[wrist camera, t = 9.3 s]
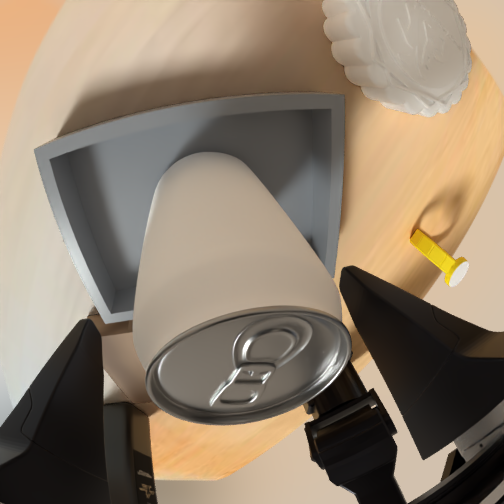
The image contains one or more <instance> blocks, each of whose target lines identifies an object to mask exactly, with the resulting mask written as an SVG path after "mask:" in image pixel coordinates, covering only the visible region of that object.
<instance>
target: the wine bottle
mask: <svg viewBox="0 0 504 504" xmlns="http://www.w3.org/2000/svg"><path fill="white" fill-rule="evenodd" d="M103 413H104V441H105V456H106V467H107V476H108V483H109V491H110V498H111V504H158V502H157V496H156V488H155V480H154V472H153V463H152V452H151V440H150V425H149V418H148V416H146V415H145V414H144V413H142V412H141V411H140V410H138V409H137V408H136V407H134V406H133V405H131V404H129V403H117V404H111V405H104V406H103Z"/></svg>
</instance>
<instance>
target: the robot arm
mask: <svg viewBox="0 0 504 504" xmlns="http://www.w3.org/2000/svg"><path fill="white" fill-rule="evenodd" d="M339 288H340V292H341V294H342V296H343V299H344V301H345V303H346V306H347V308H348V310H349V313H350V315H351V317H352V320H353V322H354V324H355V326H356V328H357V330H358V332H359V334H360V335H361V337H362V339H363V341H364V343H365V345H366V346H367V348H368V350H369V352H370V354H371V356H372V358H373V359H374V361H375V363H376V365H377V367H378V369H379V371H380V373H381V375H382V376H383V378H384V380H385V382H386V384H387V386H388V388H389V390H390V392H391V394H392V396H393V398H394V400H395V402H396V404H397V406H398V408H399V410H400V412H401V414H402V415H403V419H404V421H405V423H406V425H407V427H408V429H409V431H410V434H411V436H412V438H413V440H414V442H415V444H416V447H417V449H418V451H419V453H420V455H421V458H422V459H423V460H425V459H427V458H428V457H430V456H431V455H433V454H435V453H436V452H438V451H439V450H440V449H442V448H444V447H445V446H447V445H448V444H449V443H451V442H452V441H454V443H455V445H456V447H457V448H456V449H455V450H454V451H452V452H451V453H449V454H448V457H447V461H446V465H445V468H444V471H443V475H442V478H441V482H440V483H439V484H438V485H436V486H435V487H433V488H432V489H430V490H429V491H427V492H426V493H424V494H423V495H421V496H420V497H418V498H416V499H414V500H413V501H411V502H410V503H408V504H504V332H493V331H488V330H486V329H484V328H481V327H479V326H476V325H474V324H472V323H470V322H467V321H465V320H463V319H461V318H458V317H456V316H454V315H452V314H449V313H448V312H446V311H443V310H441V309H439V308H437V307H436V306H434V305H431V304H430V303H428V302H426V301H424V300H422V299H420V298H418V297H416V296H414V295H412V294H410V293H408V292H406V291H404V290H402V289H400V288H398V287H396V286H394V285H392V284H390V283H388V282H386V281H384V280H382V279H380V278H378V277H376V276H374V275H372V274H370V273H368V272H366V271H364V270H362V269H360V268H358V267H356V266H353V265H352V266H347V267H344V268H343V269H342V271H341V277H340V284H339ZM352 354H353V352H352V351H351V354H350V357H349V360H348V362H347V364H346V366H345V368H344V369H343V371H342V372H341V374H340V375H339V376H338V377H337V378H336V380H335V381H334V382H333V383H332V384H331V385H330V386H328V387H327V388H326V389H325V390H324V391H323V392H321V393H320V394H319V395H317V396H316V397H314V398H313V399H311V400H310V401H308V402H306V403H304V404H303V406H304V408H305V411H306V413H307V414H308V415H309V414H312V416H313V418H314V420H313V421H311V422H307V423H305V429H304V430H305V432H306V436H307V439H308V443H309V449H310V457H311V460H312V461H314V462H316V463H317V464H318V465H319V467H320V468H321V469H323V470H324V469H325V470H326V472H327V474H328V477H329V480H330V481H331V482H332V483H334V484H335V485H336V486H341V487H342V488H344V489H346V490H347V491H349V492H351V493H353V494H354V495H355V496H356V498H357V501H358V503H359V504H407V502H406V500H405V498H404V496H403V494H402V491H401V489H400V487H399V485H398V483H397V481H396V479H395V477H394V470H395V463H396V456H397V445H396V443H395V441H394V439H393V437H392V436H393V435H395V434H396V433H397V430H396V428H395V425H394V423H393V422H392V420H391V418H390V416H389V414H388V413H387V411H386V409H385V407H384V405H383V404H382V402H381V400H380V399H379V397H378V395H377V393H376V392H375V390H374V388H372V389H370V390H369V392H367V390H366V388H365V386H364V385H363V383H362V381H361V379H360V377H359V375H358V374H357V372H356V370H355V368H354V366H353V365H352V363H351V361H350V360H351V357H352ZM103 392H104V371H103V354H102V337H101V334H100V332H99V331H98V329H97V327H96V326H95V324H94V322H93V321H92V320H91V319H89V318H87V319H81V320H80V321H79V322H78V323H77V324H76V325H75V327H74V328H73V329H72V330H71V332H70V333H69V334H68V335H67V337H66V338H65V339H64V341H63V342H62V343H61V344H60V346H59V347H58V348H57V350H56V351H55V352H54V354H53V355H52V356H51V358H50V359H49V360H48V362H47V363H46V364H45V366H44V367H43V368H42V370H41V371H40V373H39V374H38V375H37V377H36V378H35V380H34V381H33V382H32V384H31V385H30V387H29V388H28V390H27V391H26V393H25V394H24V396H23V397H22V398H21V400H20V401H19V403H18V404H17V406H16V407H15V408H14V410H13V411H12V412H11V414H10V415H9V416H8V418H7V419H6V420H5V422H4V423H3V424H2V426H1V427H0V504H111V498H110V491H109V483H108V476H107V467H106V456H105V441H104V413H103ZM373 405H376V407H374V408H371V407H372V406H373Z"/></svg>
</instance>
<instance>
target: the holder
mask: <svg viewBox="0 0 504 504" xmlns="http://www.w3.org/2000/svg"><path fill="white" fill-rule="evenodd" d="M87 318H89V319H91V320H92V321H93V322H94V324H95V326H96V327H97V329H98V331H99V332H100V334H101V337H102V354H103V368H104V369H105V371H106V372H107V373H108V375H109V376H110V377H111V378H112V379H113V381H114V382H115V383H116V384H117V385H118V387H119V388H120V389H121V390H122V391H123V392H124V394H125V395H126V396H127V397H128V398H129V399H130V400H131V402H132V403H133V404H135V403H146V402H153V401H152V400H151V398H150V396H149V395H148V392H147V390H146V385H145V377H146V371H145V369H144V368H143V366H142V364H141V362H140V360H139V358H138V355H137V353H136V350H135V347H134V342H133V320H127V321H121V322H115V323H108V324H105V323H104V321H103V319H102V317H101V316H100V314H98V315H92V316H88V317H87Z"/></svg>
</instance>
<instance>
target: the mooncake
mask: <svg viewBox="0 0 504 504" xmlns="http://www.w3.org/2000/svg"><path fill="white" fill-rule="evenodd" d="M322 10H323V12H324V14H325V16H326V17H327V19H326V20H325V22H324V25H323V29H324V33H325V35H326V36H327V38H328V39H329V40H330V41H332V42H333V43H332V46H331V52H332V55H333V57H334V59H335V60H336V61H337V62H338V63H340V64H341V65H344V72H345V75H346V77H347V79H348V80H349V81H350V82H351V83H353V84H355V85H358V86H361V90H362V92H363V94H364V95H365V96H366V97H367V98H369V99H371V100H375V101H380V103H381V104H382V105H383V106H384V107H386V108H389V109H393V110H397V111H401V112H405V113H408V114H412V115H415V114H418V115H422V116H425V117H433V116H434V115H436V113H437V112H438V113H446V112H448V111H449V110H450V108H451V105H452V104H457V103H458V102H459V101H460V99H461V96H462V91H463V90H465V89H466V88H467V86H468V73H469V72H470V71H471V67H472V61H471V56H470V52H471V44H470V41H469V39H468V37H467V35H466V32H467V29H466V24H465V22H464V19H463V17H462V16H461V15H460V14H459V12H458V8H457V5H456V4H455V2H454V1H453V0H324V1H323V3H322Z"/></svg>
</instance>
